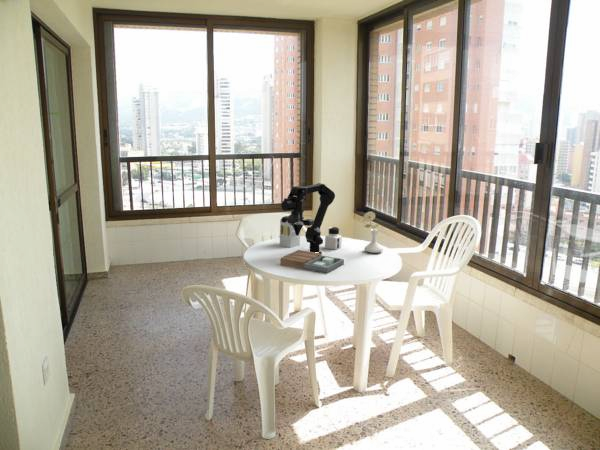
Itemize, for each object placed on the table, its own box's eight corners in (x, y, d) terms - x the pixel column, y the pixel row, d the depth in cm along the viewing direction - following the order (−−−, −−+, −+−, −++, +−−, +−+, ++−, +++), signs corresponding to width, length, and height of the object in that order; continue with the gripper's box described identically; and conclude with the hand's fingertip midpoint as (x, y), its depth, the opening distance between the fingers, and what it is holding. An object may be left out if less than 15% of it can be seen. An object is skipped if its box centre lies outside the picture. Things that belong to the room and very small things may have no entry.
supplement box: (279, 245, 331) (279, 218, 327) (289, 242, 338) (289, 216, 334) (290, 247, 325) (290, 221, 321) (300, 245, 332) (300, 219, 328)
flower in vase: (382, 249, 324) (384, 210, 319) (383, 254, 313) (385, 213, 308) (361, 249, 325) (363, 209, 320) (361, 253, 314) (363, 212, 309)
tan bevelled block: (298, 256, 306) (298, 249, 305) (321, 260, 298) (321, 253, 297) (280, 264, 289) (280, 257, 288) (304, 269, 281) (304, 262, 280)
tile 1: (325, 262, 283) (325, 267, 283) (317, 261, 285) (317, 265, 286) (321, 265, 279) (321, 269, 279) (313, 263, 281) (312, 268, 281)
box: (321, 260, 298) (321, 255, 298) (343, 264, 292) (344, 259, 291) (304, 269, 281) (304, 263, 281) (327, 273, 275) (327, 268, 274)
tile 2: (334, 258, 292) (334, 262, 292) (326, 257, 294) (326, 261, 295) (330, 260, 288) (330, 264, 288) (322, 259, 290) (322, 263, 291)
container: (341, 247, 328) (342, 227, 325) (335, 250, 321) (336, 229, 318) (330, 245, 332) (331, 225, 329) (324, 248, 325) (325, 227, 322)
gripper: (276, 209, 295) (276, 236, 299) (305, 212, 286) (304, 240, 290) (286, 206, 305) (286, 232, 308) (314, 209, 296) (314, 236, 299)
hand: (297, 235), depth 301 cm, fingers closed
